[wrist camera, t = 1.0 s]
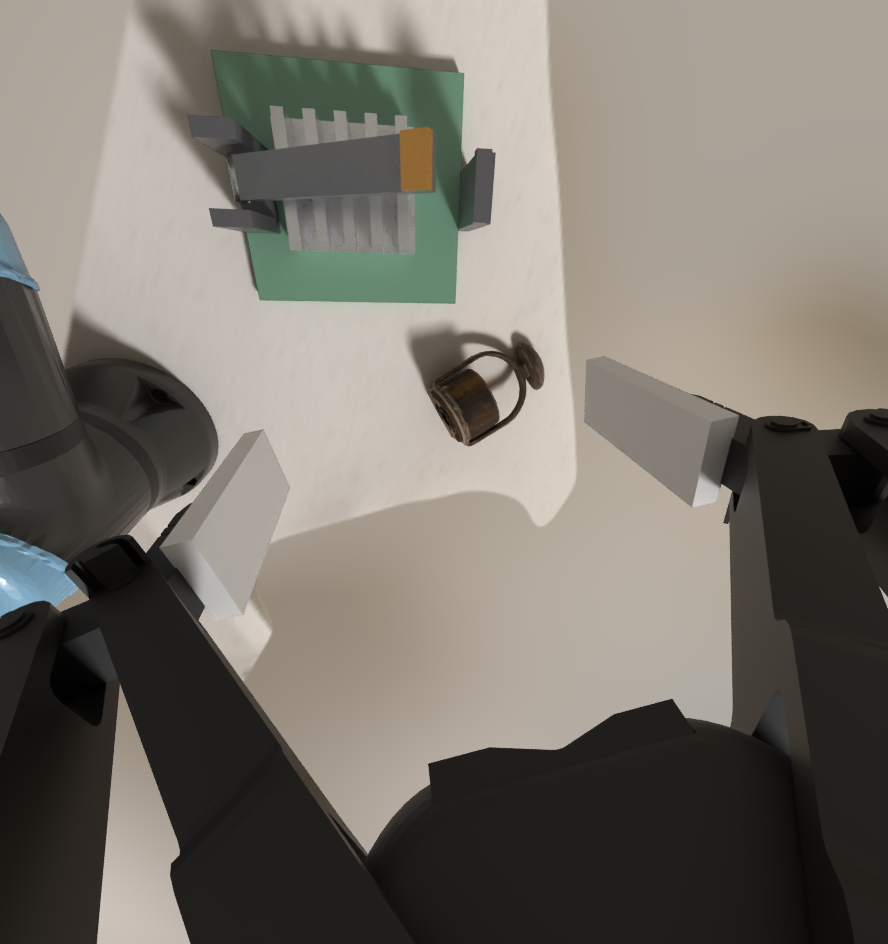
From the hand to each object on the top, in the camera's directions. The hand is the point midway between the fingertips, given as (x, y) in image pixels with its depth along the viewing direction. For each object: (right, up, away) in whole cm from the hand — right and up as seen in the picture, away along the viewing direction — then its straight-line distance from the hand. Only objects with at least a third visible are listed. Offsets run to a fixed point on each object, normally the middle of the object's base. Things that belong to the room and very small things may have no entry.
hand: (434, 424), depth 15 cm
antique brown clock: (+5, +7, +27) cm, 29 cm away
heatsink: (-7, +21, +16) cm, 27 cm away
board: (-7, +22, +17) cm, 28 cm away
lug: (+2, +22, +18) cm, 29 cm away
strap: (-7, +16, +7) cm, 19 cm away
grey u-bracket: (-15, +21, +15) cm, 30 cm away
